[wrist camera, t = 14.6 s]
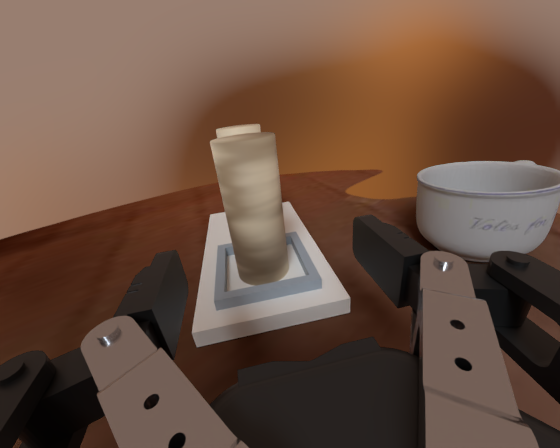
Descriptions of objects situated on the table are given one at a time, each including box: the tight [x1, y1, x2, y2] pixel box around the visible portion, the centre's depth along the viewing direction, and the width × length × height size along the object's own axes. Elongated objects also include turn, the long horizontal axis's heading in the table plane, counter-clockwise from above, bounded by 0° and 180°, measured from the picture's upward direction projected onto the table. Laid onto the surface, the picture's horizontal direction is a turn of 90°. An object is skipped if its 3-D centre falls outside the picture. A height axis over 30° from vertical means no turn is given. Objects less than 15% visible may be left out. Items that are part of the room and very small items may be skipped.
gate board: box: [192, 124, 350, 347], centre depth 26 cm, size 22×12×14 cm, turn 11°
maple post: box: [210, 132, 289, 286], centre depth 21 cm, size 5×5×12 cm
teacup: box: [416, 160, 560, 262], centre depth 25 cm, size 14×11×8 cm
